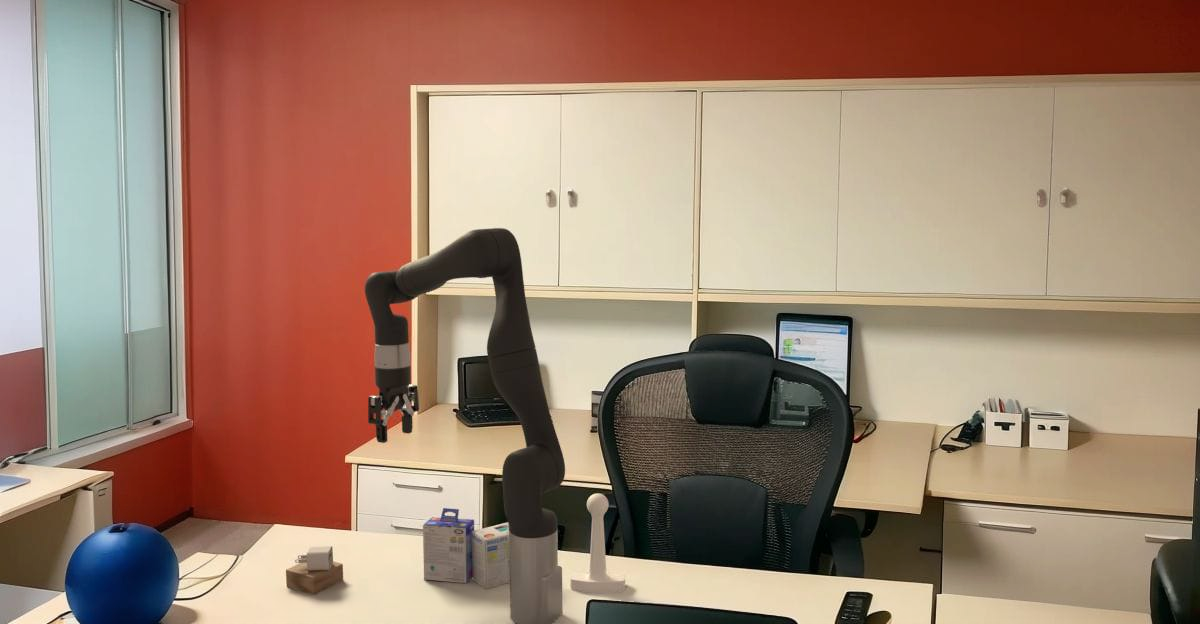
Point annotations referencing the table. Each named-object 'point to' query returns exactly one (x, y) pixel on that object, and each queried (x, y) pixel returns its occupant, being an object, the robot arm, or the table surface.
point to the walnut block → (313, 578)
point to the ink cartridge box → (448, 548)
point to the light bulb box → (491, 555)
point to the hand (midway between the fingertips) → (395, 437)
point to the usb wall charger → (318, 558)
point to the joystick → (597, 555)
